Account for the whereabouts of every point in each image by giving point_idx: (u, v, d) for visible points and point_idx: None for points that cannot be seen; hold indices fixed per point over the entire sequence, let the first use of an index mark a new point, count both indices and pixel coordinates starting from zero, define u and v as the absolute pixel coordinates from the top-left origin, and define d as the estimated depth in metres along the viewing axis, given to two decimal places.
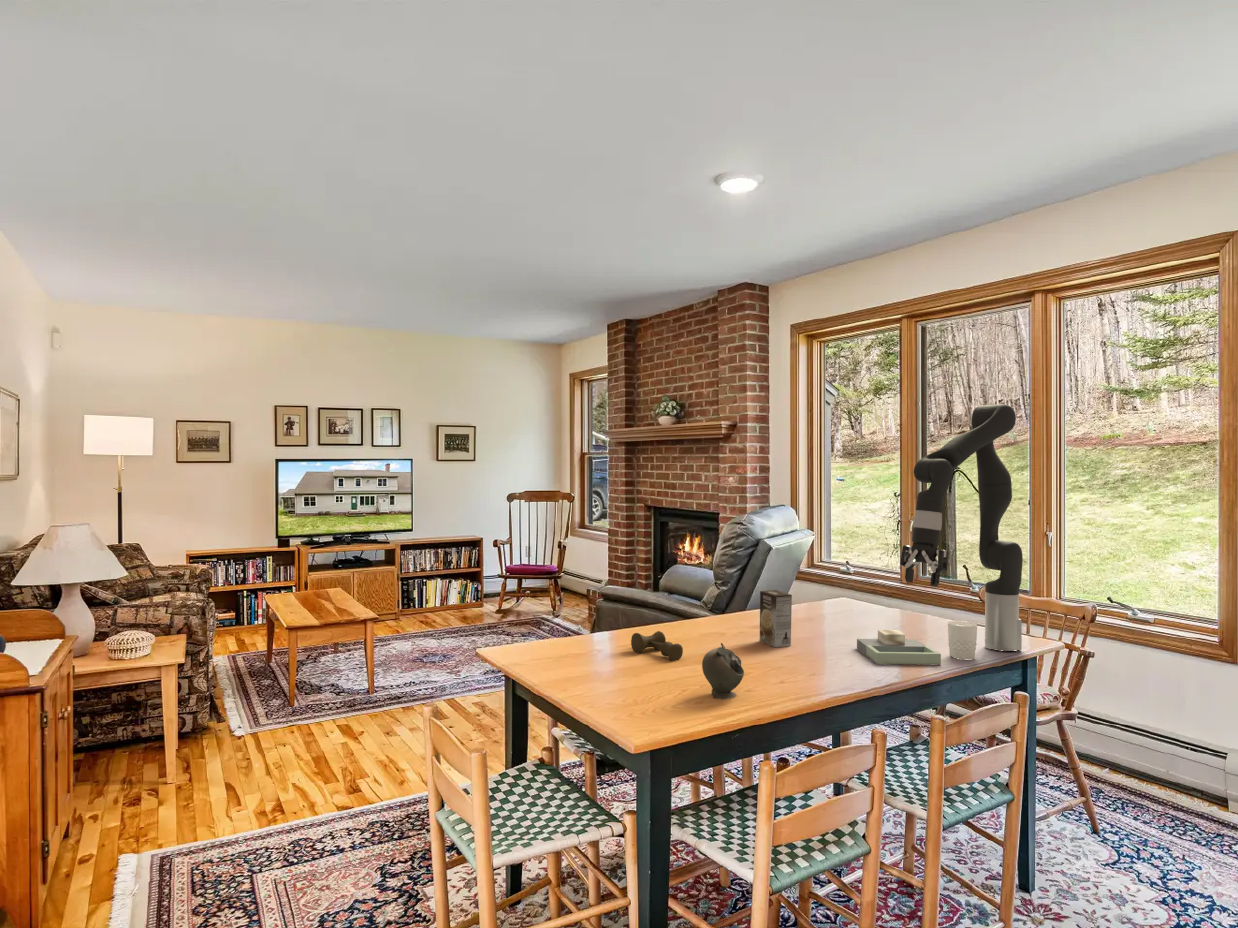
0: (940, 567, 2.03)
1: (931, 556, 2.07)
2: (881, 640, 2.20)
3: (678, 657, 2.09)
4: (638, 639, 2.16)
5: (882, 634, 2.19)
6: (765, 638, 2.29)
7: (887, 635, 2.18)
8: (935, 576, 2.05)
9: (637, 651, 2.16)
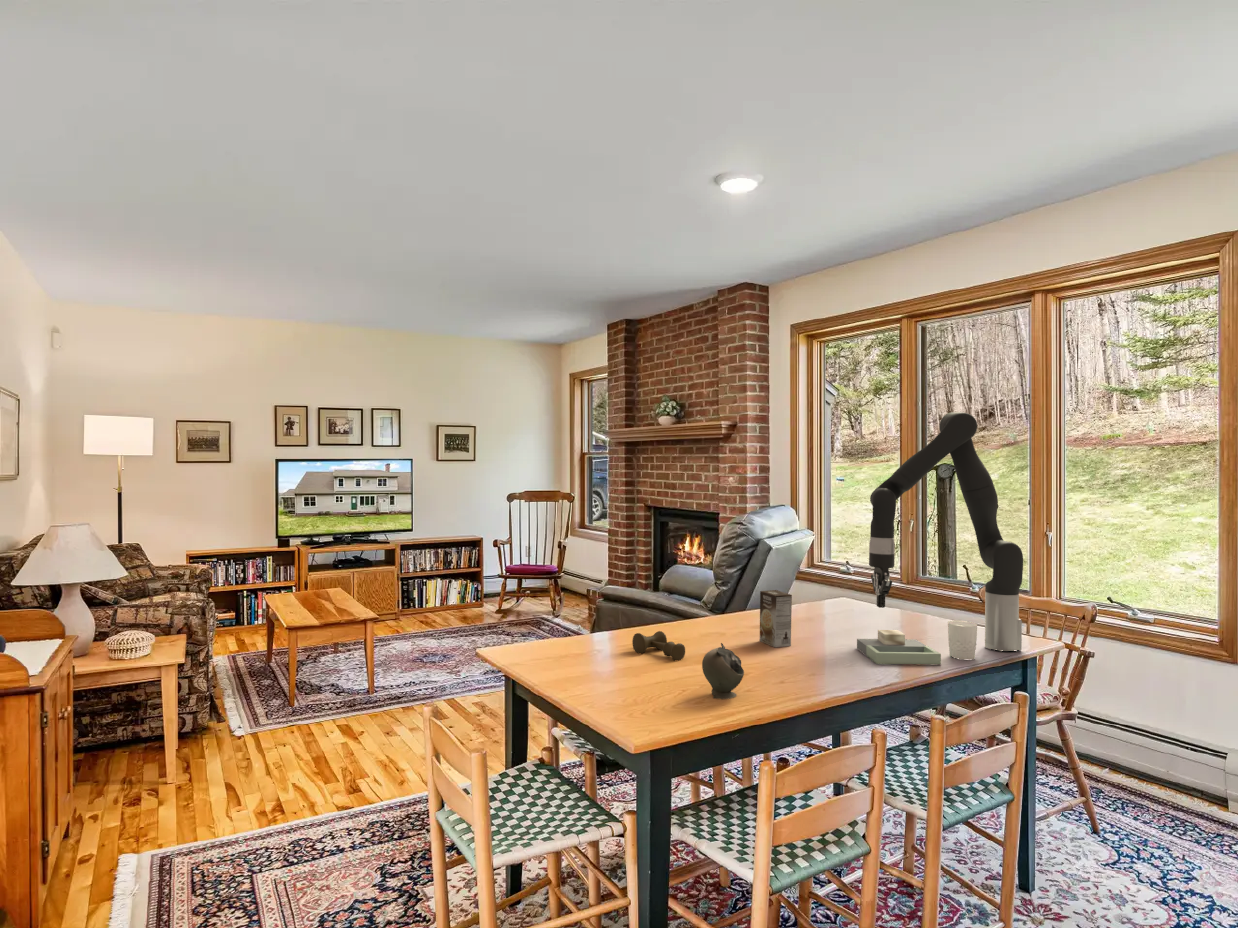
0: (880, 591, 2.27)
1: (880, 581, 2.27)
2: (881, 640, 2.20)
3: (681, 657, 2.09)
4: (640, 639, 2.16)
5: (882, 634, 2.19)
6: (765, 638, 2.29)
7: (887, 635, 2.18)
8: (880, 598, 2.28)
9: (639, 651, 2.16)
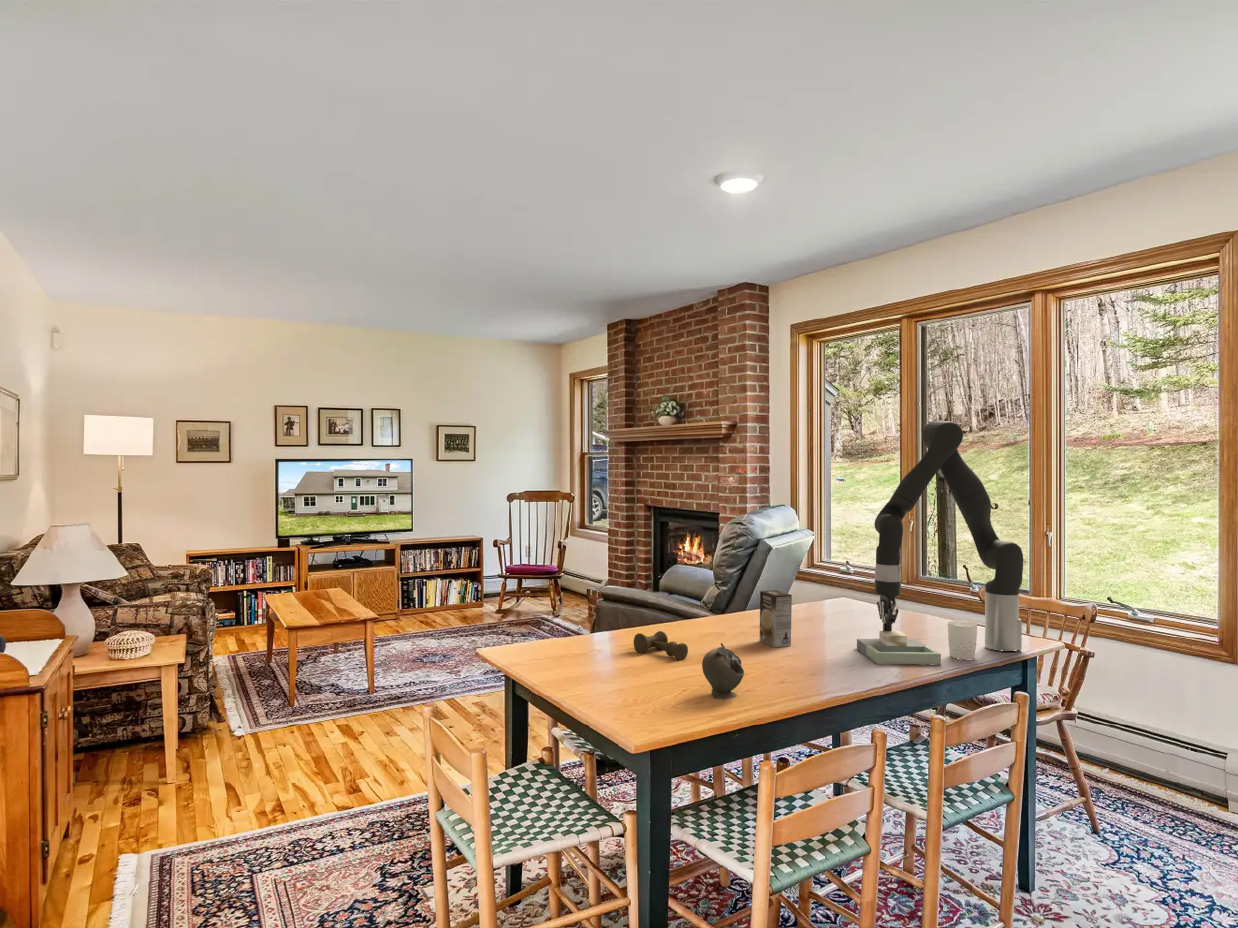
0: (886, 619, 2.21)
1: (886, 610, 2.21)
2: (883, 642, 2.19)
3: (684, 656, 2.10)
4: (642, 639, 2.16)
5: (884, 635, 2.18)
6: (765, 638, 2.29)
7: (889, 636, 2.16)
8: (886, 627, 2.23)
9: (641, 651, 2.16)
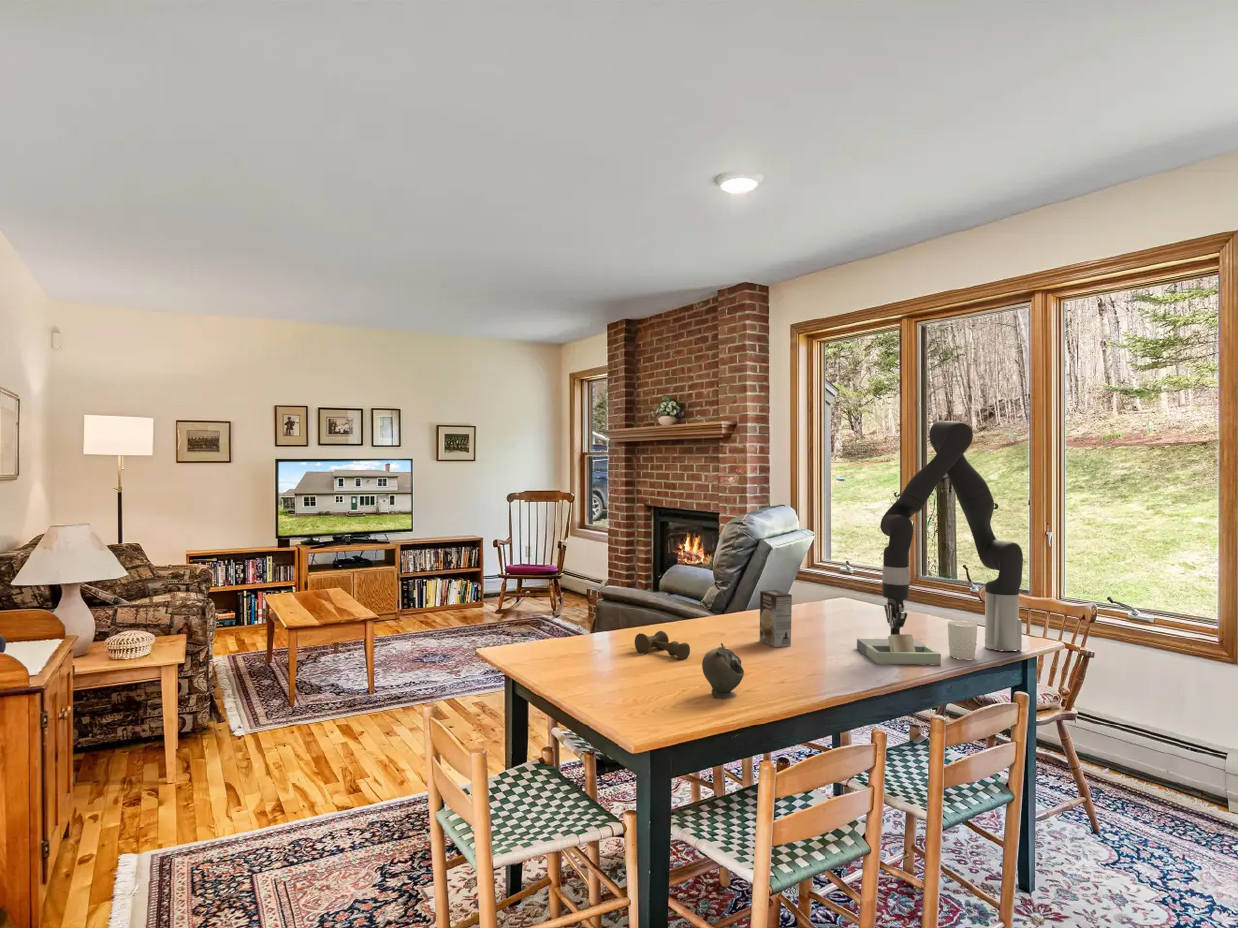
0: (894, 623, 2.14)
1: (894, 613, 2.15)
2: (890, 648, 2.13)
3: (686, 656, 2.10)
4: (643, 639, 2.16)
5: (893, 649, 2.11)
6: (765, 638, 2.29)
7: None
8: (894, 631, 2.16)
9: (642, 651, 2.16)
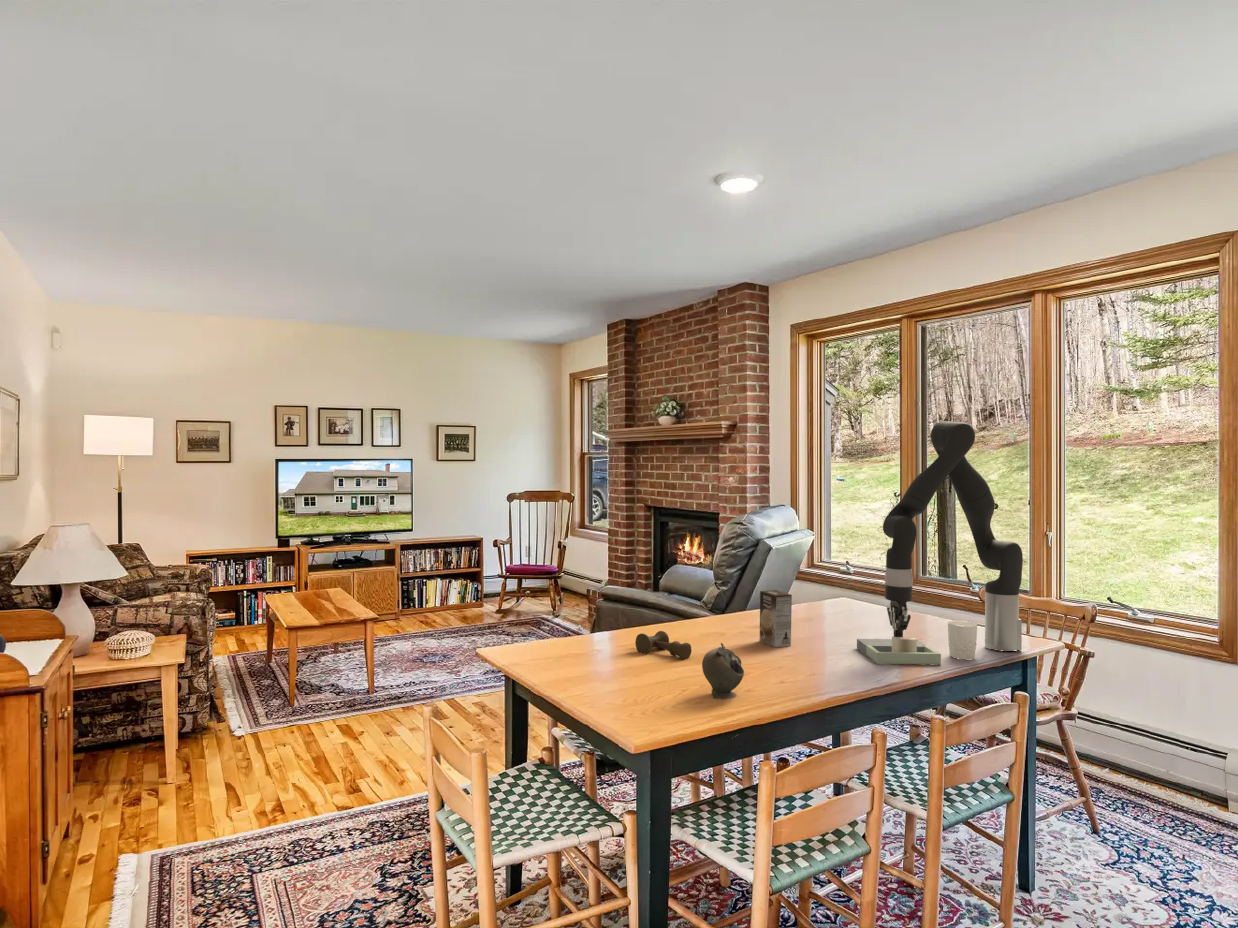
0: (897, 626, 2.12)
1: (898, 616, 2.12)
2: (892, 648, 2.12)
3: (688, 656, 2.11)
4: (644, 639, 2.16)
5: None
6: (765, 638, 2.29)
7: None
8: (897, 634, 2.13)
9: (643, 652, 2.16)
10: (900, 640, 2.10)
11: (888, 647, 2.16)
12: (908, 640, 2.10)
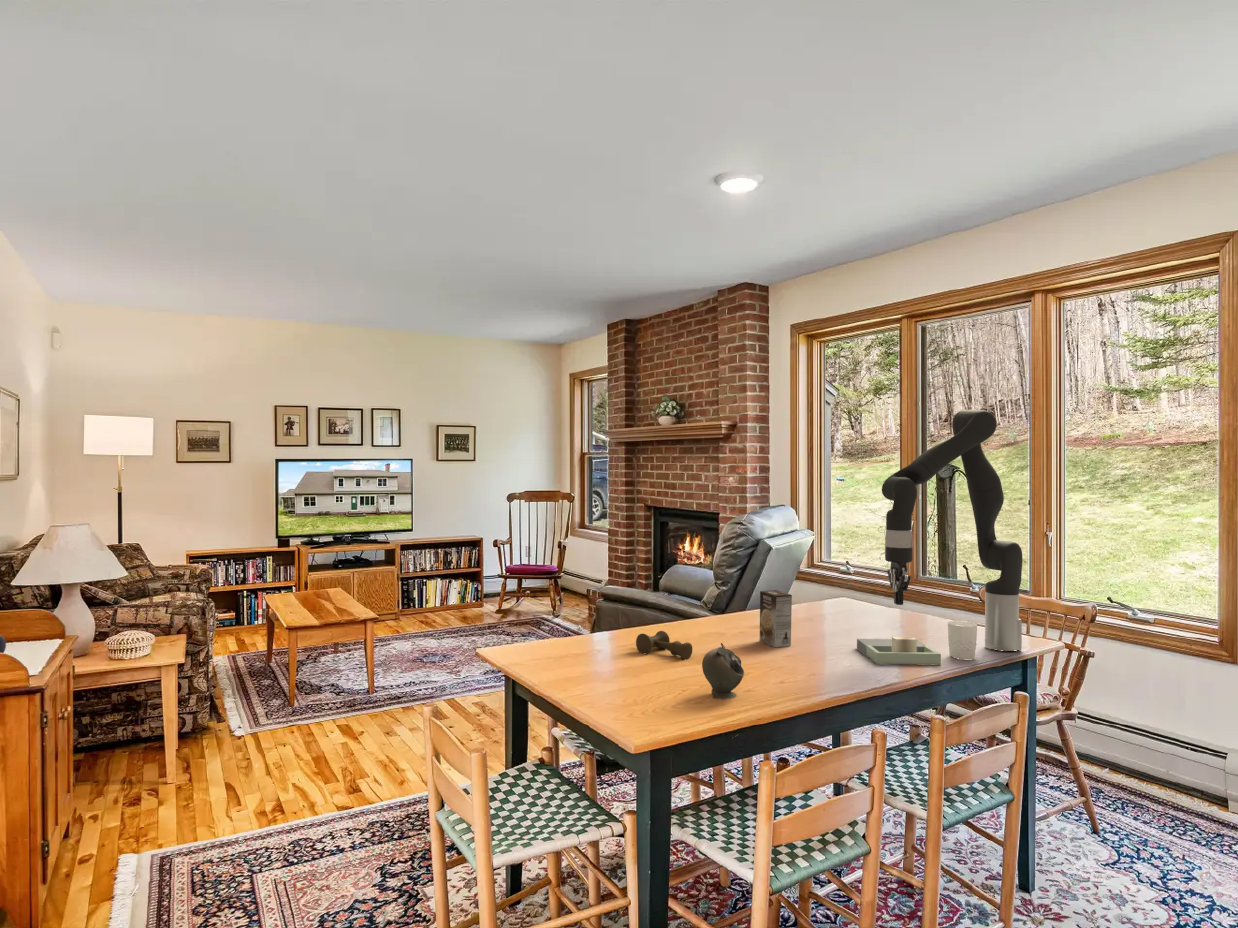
0: (898, 587, 2.12)
1: (898, 577, 2.13)
2: (892, 648, 2.12)
3: (689, 656, 2.11)
4: (645, 639, 2.16)
5: None
6: (765, 638, 2.29)
7: None
8: (897, 595, 2.14)
9: (644, 652, 2.16)
10: (900, 640, 2.10)
11: (888, 647, 2.16)
12: (908, 640, 2.10)
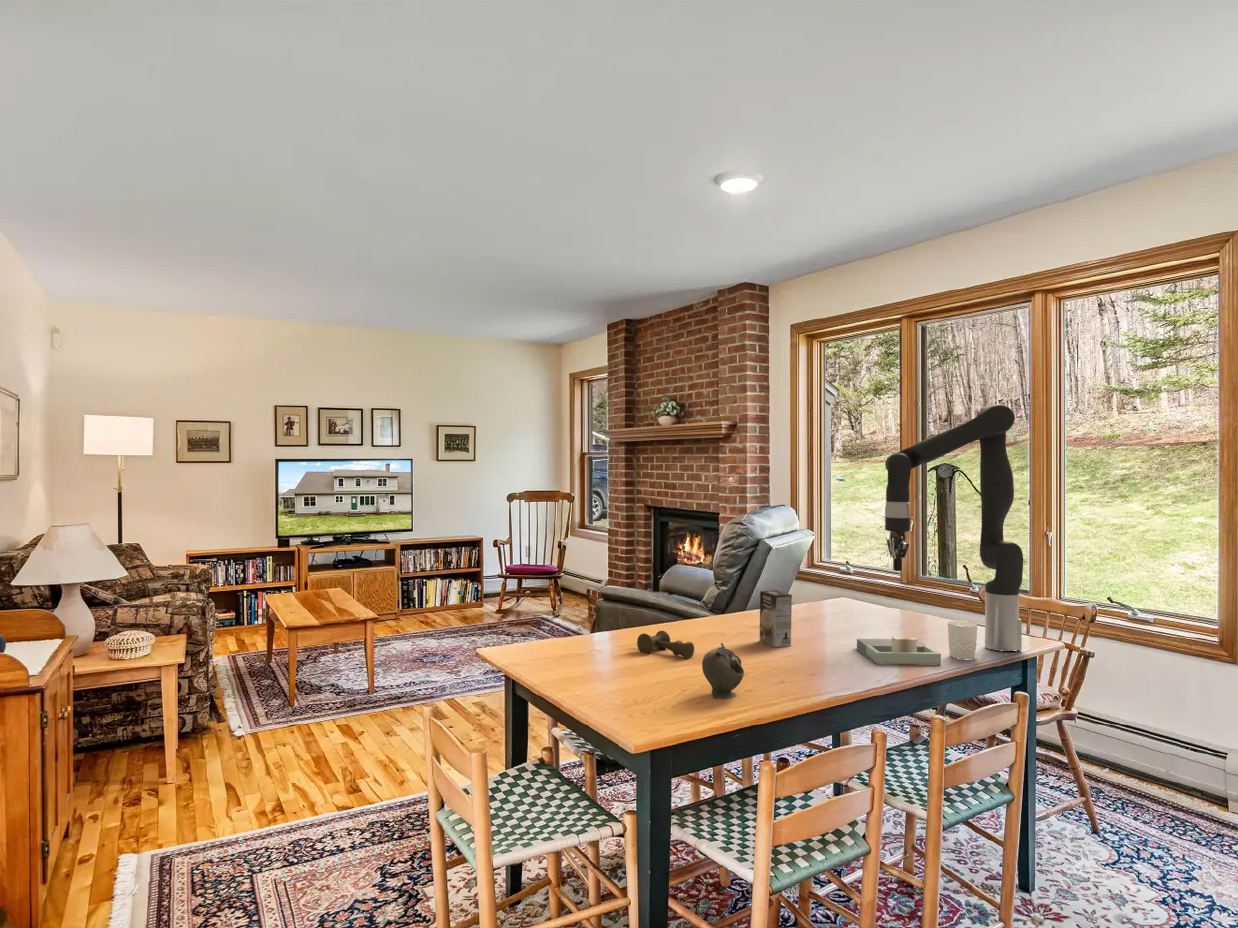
0: (896, 554, 2.29)
1: (897, 545, 2.30)
2: (892, 648, 2.12)
3: (691, 655, 2.11)
4: (647, 639, 2.16)
5: None
6: (765, 638, 2.29)
7: None
8: (896, 562, 2.31)
9: (645, 652, 2.16)
10: (900, 640, 2.10)
11: (888, 647, 2.16)
12: (908, 640, 2.10)
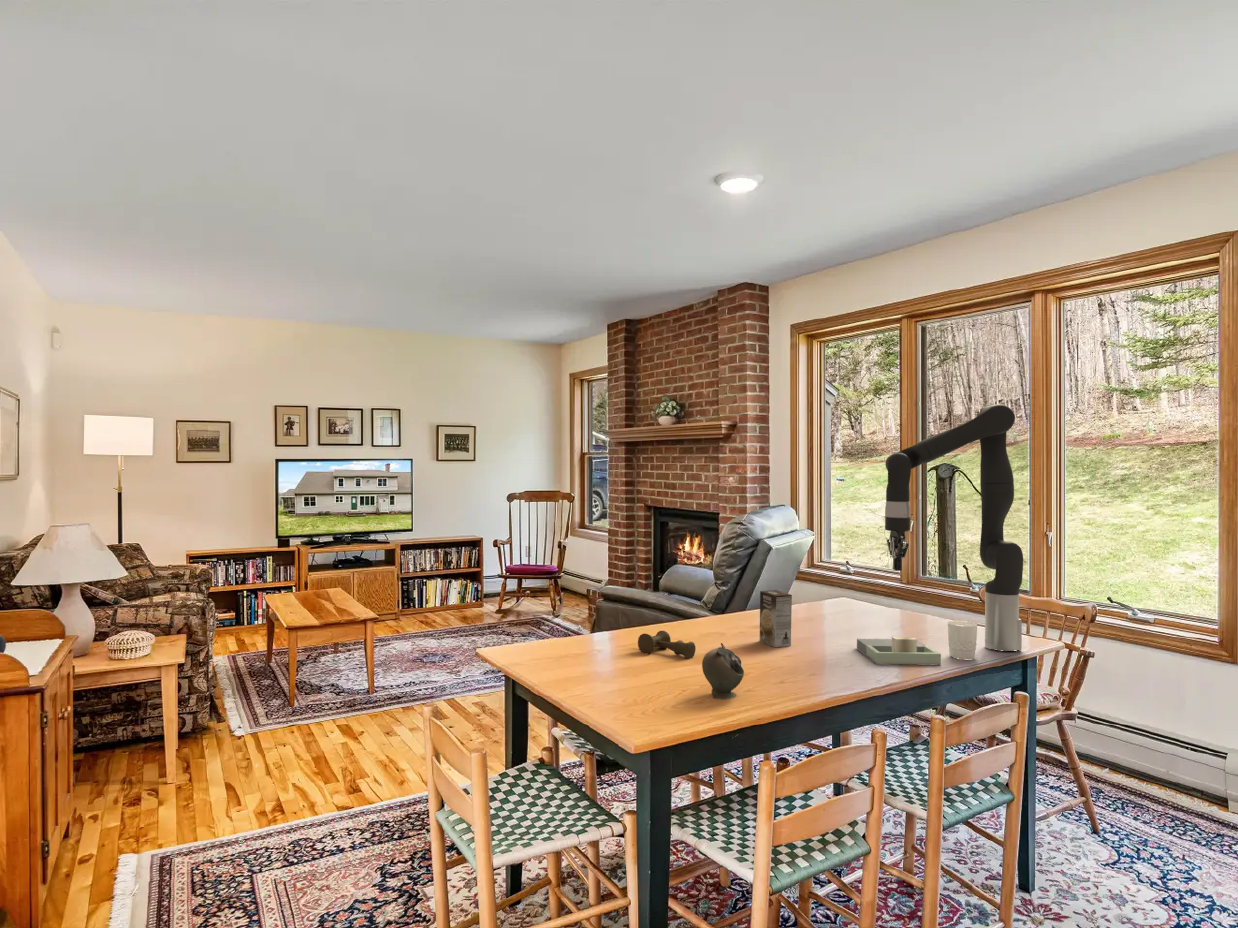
0: (896, 554, 2.30)
1: (897, 545, 2.30)
2: (892, 648, 2.12)
3: (692, 655, 2.12)
4: (648, 639, 2.16)
5: None
6: (765, 638, 2.29)
7: None
8: (896, 562, 2.31)
9: (646, 652, 2.16)
10: (900, 640, 2.10)
11: (888, 647, 2.16)
12: (908, 640, 2.10)
